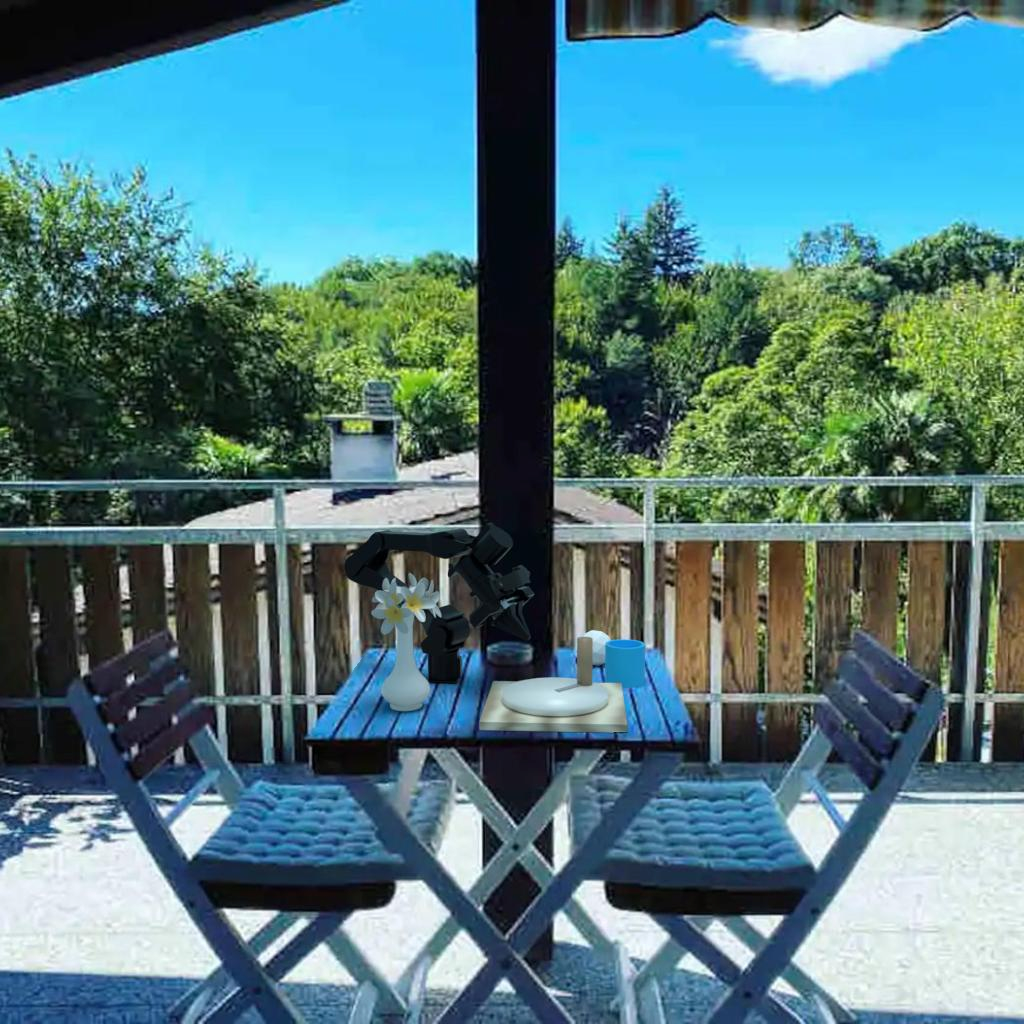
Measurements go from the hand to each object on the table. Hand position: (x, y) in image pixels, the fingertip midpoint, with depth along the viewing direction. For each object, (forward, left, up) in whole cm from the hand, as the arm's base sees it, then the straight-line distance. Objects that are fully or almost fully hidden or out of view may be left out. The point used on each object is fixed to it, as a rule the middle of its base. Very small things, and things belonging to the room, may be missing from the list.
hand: (528, 638), depth 193 cm
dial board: (+6, -11, -11) cm, 16 cm away
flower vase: (-22, -12, -11) cm, 28 cm away
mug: (+20, +10, -11) cm, 25 cm away
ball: (+14, +22, -11) cm, 28 cm away
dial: (+6, -11, -9) cm, 15 cm away
